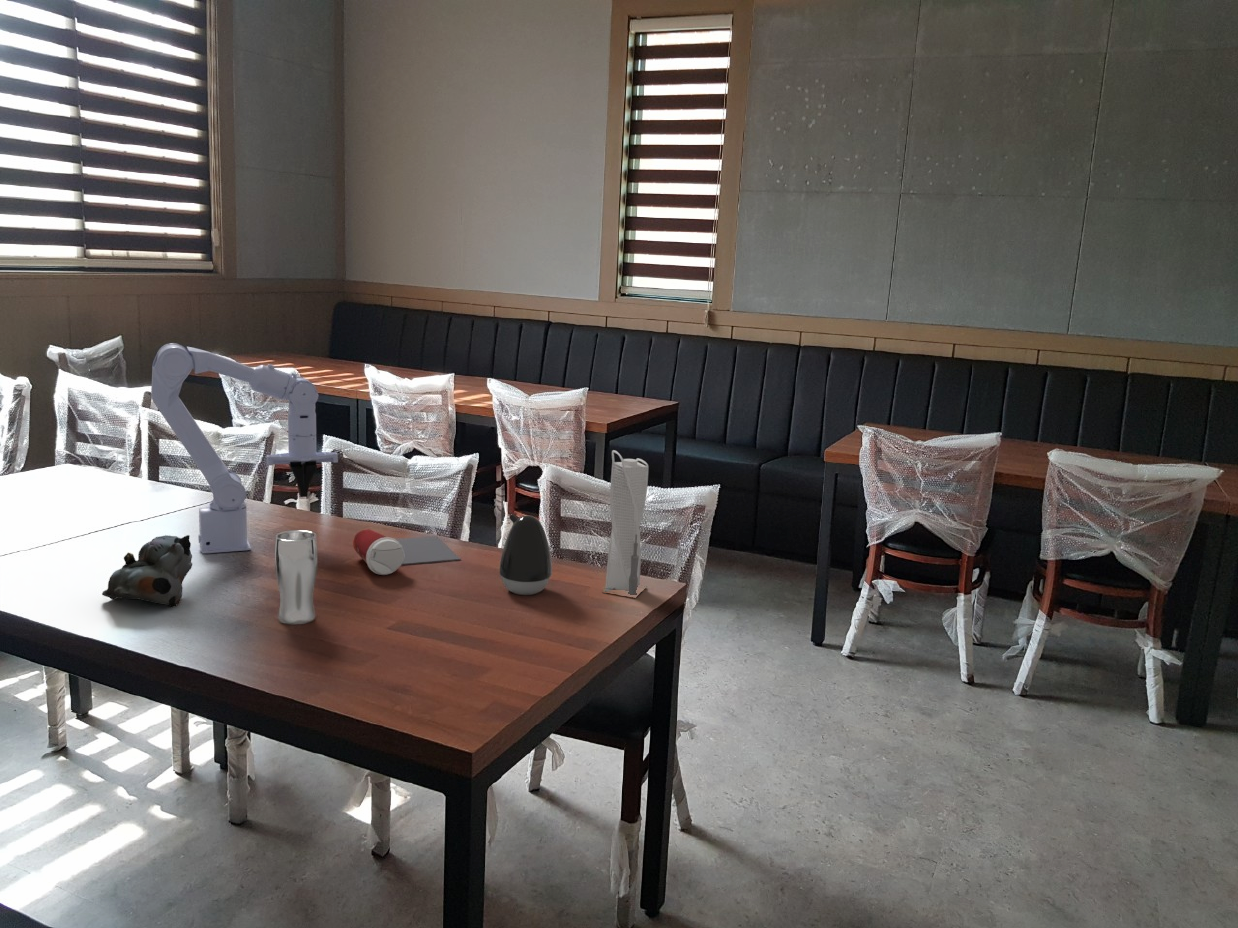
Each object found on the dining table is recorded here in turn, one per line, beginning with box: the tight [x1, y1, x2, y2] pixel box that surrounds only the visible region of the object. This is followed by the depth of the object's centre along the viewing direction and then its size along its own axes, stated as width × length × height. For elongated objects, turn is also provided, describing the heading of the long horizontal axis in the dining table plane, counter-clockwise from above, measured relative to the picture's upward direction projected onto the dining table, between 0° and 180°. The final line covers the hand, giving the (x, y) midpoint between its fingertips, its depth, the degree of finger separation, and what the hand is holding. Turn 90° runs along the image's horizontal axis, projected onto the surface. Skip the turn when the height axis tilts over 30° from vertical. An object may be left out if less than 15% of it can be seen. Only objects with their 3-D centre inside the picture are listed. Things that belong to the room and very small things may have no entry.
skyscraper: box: [602, 449, 649, 595], centre depth 186 cm, size 8×8×28 cm
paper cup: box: [352, 528, 405, 576], centre depth 193 cm, size 8×8×14 cm
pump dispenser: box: [498, 513, 553, 596], centre depth 183 cm, size 10×10×15 cm
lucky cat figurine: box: [101, 534, 193, 608], centre depth 167 cm, size 15×12×14 cm
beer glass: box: [274, 529, 319, 626], centre depth 162 cm, size 7×7×15 cm
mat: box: [395, 535, 462, 566], centre depth 205 cm, size 18×18×1 cm
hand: (303, 495), depth 205 cm, fingers closed
